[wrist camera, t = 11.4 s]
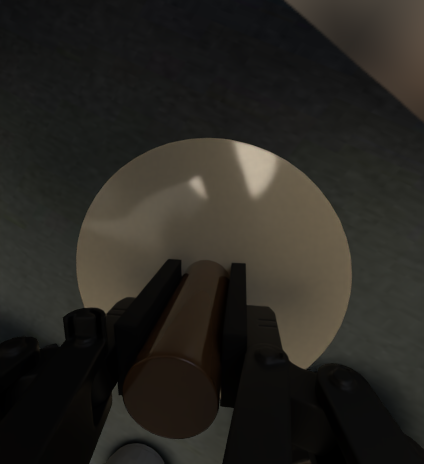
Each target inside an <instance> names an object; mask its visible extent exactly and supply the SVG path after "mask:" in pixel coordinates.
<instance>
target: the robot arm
mask: <svg viewBox="0 0 424 464" xmlns="http://www.w3.org/2000/svg"><path fill="white" fill-rule="evenodd" d="M181 277H182V271H181V260H178V259H168V260H167V261H166V262H165V263H164V264H163V266H162V267H161V268H160V269H159V270H158V272H157V273H156V274H155V275H154V277H153V278H152V279H151V280H150V281H149V283H148V284H147V285H146V286H145V287H144V289H143V290H142V291H141V292H140V293H139V295H138V296H137V297H136V298H135V297H125V298H124V299H122V300H120V301H118V302H117V303H116V304H115V305H114V306H113V307H112V308H111V309H110V310H109V311H108V312H107V313H105V312H104V310H102V309H100V308H93V307H90V308H82V309H78V310H75V311H73V312H70V313H68V314H67V315H66V316H64V317H63V322H64V330H65V339H66V340H65V342H64V343H63V344H62V345H61V346H60V347H53V348H44V349H39V342H38V340H37V339H36V338H34V337H26V336H23V337H16V338H12V339H10V340H7V341H5V342H3V343H1V344H0V464H89V463H90V460H91V457H92V455H93V452H94V450H95V447H96V444H97V442H98V439H99V437H100V434H101V432H102V429H103V426H104V424H105V421H106V419H107V416H108V413H109V411H110V408H111V405H112V390H113V388H114V387H115V385H116V383H117V382H118V392H119V395H122V387H123V382H124V379H125V376H126V374H127V372H128V371H129V369H130V367H131V365H132V364H133V362H134V360H135V358H136V357H137V355H138V353H139V351H140V349H141V348H142V346H143V344H144V342H145V341H146V339H147V337H148V335H149V334H150V332H151V330H152V328H153V327H154V325H155V323H156V321H157V319H158V318H159V316H160V314H161V312H162V311H163V309H164V307H165V305H166V304H167V302H168V300H169V298H170V296H171V295H172V293H173V291H174V289H175V288H176V286H177V284H178V282H179V281H180V279H181ZM220 406H222V407H231V408H234V411H233V416H232V420H231V425H230V430H229V435H228V439H227V444H226V449H225V454H224V458H223V463H222V464H292V445H295V446H297V447H299V448H301V449H304V450H306V451H308V455H309V458H310V461H311V464H424V461H423V460H422V459H421V457H420V456H419V454H418V453H417V452H416V450H415V449H414V447H413V446H412V444H411V443H410V442H409V440H408V439H407V437H406V436H405V435H404V433H403V432H402V430H401V429H400V427H399V426H398V425H397V423H396V422H395V420H394V419H393V418H392V416H391V415H390V413H389V412H388V410H387V409H386V408H385V406H384V405H383V403H382V402H381V400H380V399H379V398H378V396H377V395H376V393H375V392H374V391H373V389H372V388H371V386H370V385H369V383H368V382H367V381H366V380H365V379H364V378H363V377H362V376H361V374H359V373H358V372H356V371H354V370H353V369H351V368H349V367H346V366H343V365H339V364H333V363H332V364H325V365H323V366H321V367H319V369H318V372H317V373H314V372H311V371H308V370H305V369H303V368H300V367H298V366H296V365H295V364H293V363H292V362H291V361H289V358H288V355H287V354H286V353H285V351H284V350H283V348H282V343H281V339H280V334H279V329H278V325H277V320H276V315H275V313H274V311H273V310H272V309H271V308H270V307H269V306H255V305H247V295H246V263H232V265H231V273H230V281H229V289H228V296H227V304H226V312H225V320H224V328H223V341H222V381H221V400H220Z"/></svg>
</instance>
